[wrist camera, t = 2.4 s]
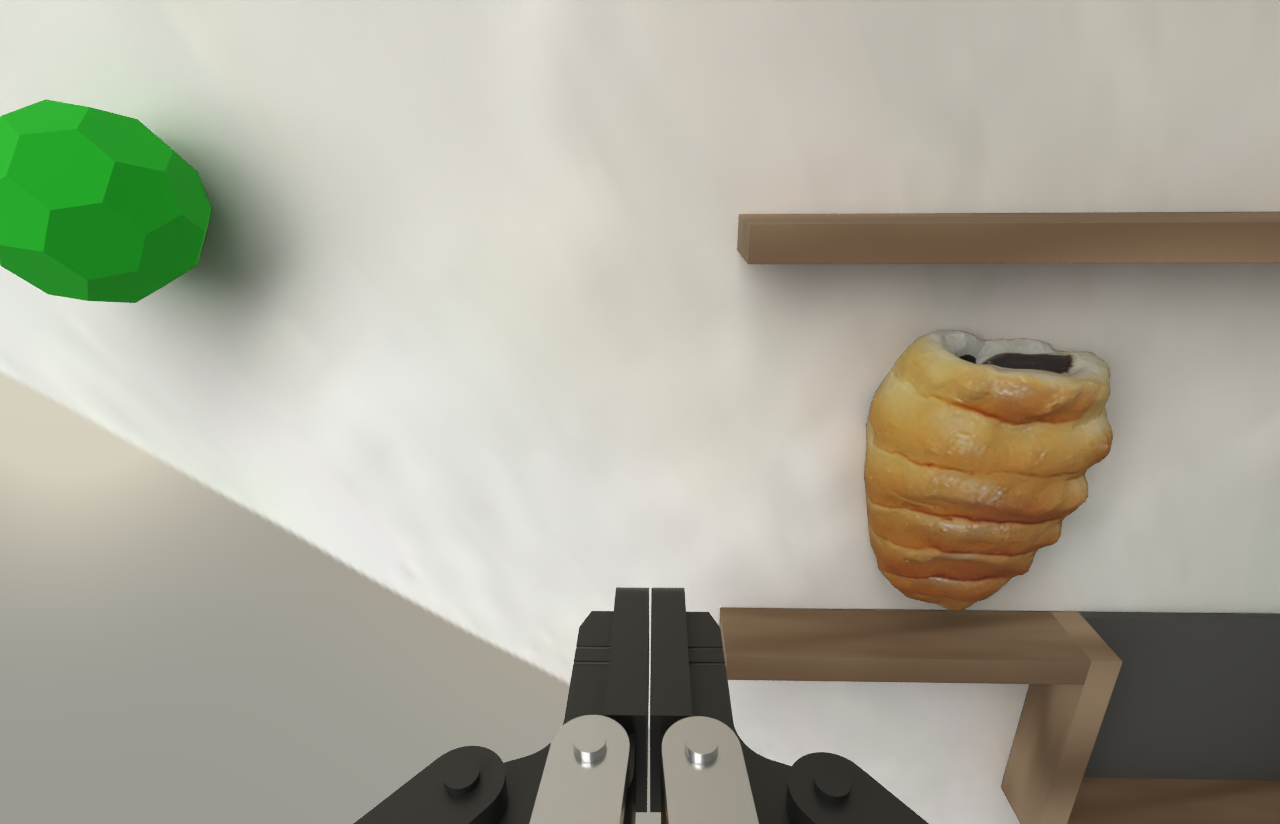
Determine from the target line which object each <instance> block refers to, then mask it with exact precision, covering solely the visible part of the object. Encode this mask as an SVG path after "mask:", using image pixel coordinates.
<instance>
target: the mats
mask: <svg viewBox="0 0 1280 824" xmlns="http://www.w3.org/2000/svg"><path fill="white" fill-rule="evenodd" d="M1079 613H1080V615H1081V616H1082V617H1083V618H1084V619H1085V620H1086V621H1087V622H1088V623H1089V625H1090V626H1091V627H1092V628H1093V629H1094V630H1095V631H1096V632H1097V634H1098V635H1099V636H1100V637H1101V638H1102V639H1103V640H1104V641H1105V643H1106V644H1107V645H1108V646H1109V647H1110V648H1111V649H1112V650H1113V651H1114V653H1115V654H1116V655H1117V656H1118V657H1119V658H1120V659H1121V660H1122V665H1121V668H1120V671H1119V674H1118V677H1117V680H1116V682H1115V685H1114V688H1113V691H1112V694H1111V697H1110V700H1109V703H1108V706H1107V709H1106V712H1105V715H1104V717H1103V720H1102V723H1101V726H1100V729H1099V732H1098V735H1097V738H1096V741H1095V744H1094V747H1093V749H1092V752H1091V755H1090V758H1089V761H1088V764H1087V767H1086V770H1085V773H1084V776H1083V777H1090V778H1147V779H1204V780H1260V781H1280V614H1236V613H1145V612H1079Z"/></svg>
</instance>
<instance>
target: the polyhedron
mask: <svg viewBox="0 0 1280 824" xmlns="http://www.w3.org/2000/svg"><path fill="white" fill-rule="evenodd" d="M211 211H212V208H211V206H210V203H209V201H208V198H207V195H206V193H205V190H204V187H203V185H202V182H201V179H200V177H199V174H198V172H197V171H196V170H195V169H194V168H193V167H191V166H190V165H189V164H188V163H187V162H186V161H185V160H183V159H182V158H181V157H180V156H179V155H178V154H177V153H175V152H174V151H173V150H172V149H171V148H170V147H168V146H167V145H166V144H165V143H164V142H163V141H162V140H160V139H159V138H158V137H157V136H156V135H155V134H153V133H152V132H151V131H150V130H149V129H148V128H147V127H145V126H144V125H143V124H142V123H141V122H140V121H138V120H137V119H134V118H130V117H126V116H122V115H118V114H114V113H110V112H106V111H102V110H98V109H94V108H90V107H85V106H79V105H73V104H67V103H62V102H56V101H50V100H43V101H41V102H38V103H35V104H32V105H30V106H27V107H24V108H22V109H19V110H16V111H13V112H11V113H8V114H5V115H3V116H1V117H0V265H1V266H2V267H4V268H5V269H7V270H9V271H11V272H12V273H14V274H16V275H17V276H19V277H21V278H22V279H24V280H26V281H27V282H29V283H31V284H32V285H34V286H36V287H37V288H39V289H41V290H42V291H44V292H46V293H47V294H51V295H57V296H63V297H69V298H75V299H81V300H87V301H107V302H130V303H136V302H138V301H139V300H141V299H143V298H144V297H146V296H148V295H150V294H151V293H153V292H155V291H156V290H158V289H160V288H161V287H163V286H165V285H166V284H168V283H170V282H171V281H173V280H174V279H176V278H178V277H179V276H181V275H182V274H184V273H186V272H187V271H189V270H190V269H192V268H194V267H195V266H196V265H197V264H198V262H199V258H200V255H201V251H202V247H203V244H204V240H205V237H206V233H207V230H208V225H209V220H210V215H211Z"/></svg>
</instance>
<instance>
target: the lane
mask: <svg viewBox="0 0 1280 824" xmlns="http://www.w3.org/2000/svg"><path fill="white" fill-rule="evenodd" d="M737 250H738V251H739V253H740V254H741V255H742V257H743V258H744V260H745V261H746V262H747V264H947V263H1280V212H1136V213H936V214H739V224H738V245H737ZM719 627H720V628H721V636H722V643H723V651H724V658H725V666H726V673H727V680H787V681H859V682H931V683H1003V684H1030V685H1029V689H1028V692H1027V696H1026V699H1025V703H1024V707H1023V710H1022V714H1021V717H1020V721H1019V724H1018V728H1017V732H1016V735H1015V739H1014V742H1013V746H1012V749H1011V753H1010V757H1009V760H1008V764H1007V767H1006V771H1005V774H1004V778H1003V782H1002V785H1001V788H1002V790H1003V792H1004V794H1005V795H1006V797H1007V799H1008V801H1009V803H1010V805H1011V807H1012V809H1013V810H1014V812H1015V814H1016V816H1017V818H1018V820H1019V822H1020V824H1280V781H1260V780H1204V779H1147V778H1090V777H1083V776H1084V773H1085V770H1086V767H1087V764H1088V761H1089V758H1090V755H1091V752H1092V749H1093V747H1094V744H1095V741H1096V738H1097V735H1098V732H1099V729H1100V726H1101V723H1102V720H1103V717H1104V715H1105V712H1106V709H1107V706H1108V703H1109V700H1110V697H1111V694H1112V691H1113V688H1114V685H1115V682H1116V680H1117V677H1118V674H1119V671H1120V668H1121V665H1122V660H1121V659H1120V658H1119V657H1118V656H1117V655H1116V654H1115V653H1114V651H1113V650H1112V649H1111V648H1110V647H1109V646H1108V645H1107V644H1106V643H1105V641H1104V640H1103V639H1102V638H1101V637H1100V636H1099V635H1098V634H1097V632H1096V631H1095V630H1094V629H1093V628H1092V627H1091V626H1090V625H1089V623H1088V622H1087V621H1086V620H1085V619H1084V618H1083V617H1082V616H1081V615H1080V613H1079V612H1054V611H963V610H961V611H956V610H872V609H781V608H720V624H719Z"/></svg>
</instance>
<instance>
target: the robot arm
mask: <svg viewBox="0 0 1280 824" xmlns="http://www.w3.org/2000/svg"><path fill="white" fill-rule="evenodd" d="M648 702H649V588H616V594H615V605H614V611H592V612H591V613H590V614H589V616H588V617H587V618H586V619H585V621H584V622H583V623H582V625H581V626H580V628H579V634H578V640H577V648H576V652H575V658H574V664H573V670H572V677H571V683H570V689H569V695H568V701H567V707H566V713H565V719H564V723H563V726H562V727H561V728H560V729H559V730H558V731H557V732H556V734H555V735H554V737H553V740H552V742H551V743H550V744H549V745H548V746H546V747H545V748H544V749H542V750H540V751H539V752H537V753H534V754H532V755H529V756H526V757H524V758H520V759H516V760H512V761H509V762H506V763H503V762H502V761H501V759H500V757H499V756H498V755H497V754H496V753H494V752H493V751H492V750H489V749H487V748H484V747H480V746H466V747H461V748H457V749H454V750H451V751H449V752H447V753H446V754H444V755H442V756H441V757H439V758H438V759H436V760H435V761H434V762H433V763H431V764H430V765H429V766H427V767H426V768H425V769H424V770H422V771H421V772H420V773H418V774H417V775H416V776H415V777H413V778H412V779H411V780H409V781H408V782H407V783H406V784H404V785H403V786H402V787H400V788H399V789H398V790H397V791H395V792H394V793H393V794H392V795H390V796H389V797H388V798H386V799H385V800H384V801H382V802H381V803H380V804H379V805H377V806H376V807H375V808H374V809H372V810H371V811H369V812H368V813H367V814H366V815H364V816H363V817H362V818H360V819H359V820H358V821H357V822H355V823H354V824H635V816H636V815H635V814H636V812H647V766H648ZM650 811H651V812H661V824H928V823H927V822H926V821H925V820H923V819H922V818H921V817H920V816H919V815H917V814H916V813H915V812H914V811H912V810H911V809H910V808H909V807H907V806H906V805H905V804H904V803H903V802H901V801H900V800H899V799H898V798H896V797H895V796H894V795H893V794H892V793H890V792H889V791H888V790H887V789H885V788H884V787H883V786H882V785H881V784H879V783H878V782H877V781H876V780H874V779H873V778H872V777H871V776H870V775H868V774H867V773H866V772H865V771H863V770H862V769H861V768H860V767H859V766H857V765H856V764H854V763H853V762H852V761H850V760H848V759H846V758H844V757H841V756H839V755H836V754H832V753H825V752H818V753H811V754H808V755H805V756H803V757H801V758H800V759H798V760H797V761H796V762H795V763H794V764H793V766H789V765H786V764H782V763H779V762H776V761H772V760H770V759H767V758H764V757H762V756H760V755H758V754H757V753H755V752H754V751H752V750H751V749H750V748H749V747H747V746H746V745H745V744H744V743H743V741H742V740H741V739H740V737H739V736H738V734H737V732H736V730H735V728H734V724H733V718H732V711H731V703H730V696H729V688H728V681H727V673H726V666H725V658H724V651H723V643H722V636H721V628H720V627H719V626H718V624H717V623H716V621H715V620H714V619H713V617H712V616H711V615H710V613H709V612H686V607H685V592H684V588H652V604H651V686H650Z"/></svg>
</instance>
